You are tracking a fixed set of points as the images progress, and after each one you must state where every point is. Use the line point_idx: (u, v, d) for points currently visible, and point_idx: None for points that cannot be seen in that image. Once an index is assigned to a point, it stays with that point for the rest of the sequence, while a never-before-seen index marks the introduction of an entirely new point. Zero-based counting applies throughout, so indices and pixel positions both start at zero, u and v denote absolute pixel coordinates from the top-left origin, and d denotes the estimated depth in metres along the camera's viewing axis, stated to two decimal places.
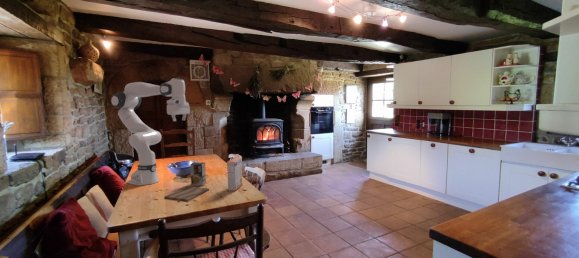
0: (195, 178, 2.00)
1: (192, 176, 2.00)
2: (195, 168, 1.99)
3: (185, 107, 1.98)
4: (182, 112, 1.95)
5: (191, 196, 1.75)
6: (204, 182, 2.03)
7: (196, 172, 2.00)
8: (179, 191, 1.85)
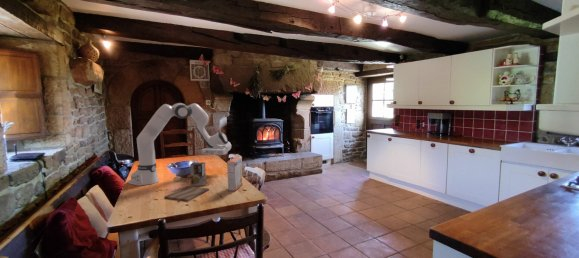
0: (195, 178, 2.00)
1: (192, 176, 2.00)
2: (195, 168, 1.99)
3: None
4: None
5: (191, 196, 1.75)
6: (204, 182, 2.03)
7: (196, 172, 2.00)
8: (179, 191, 1.85)
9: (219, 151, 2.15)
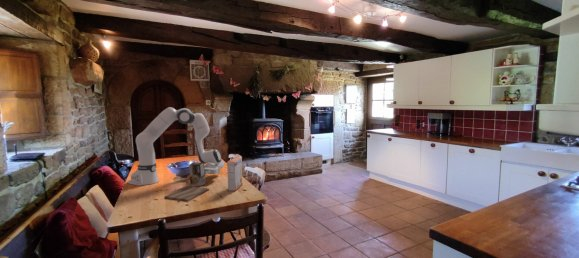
0: (194, 178, 2.00)
1: (191, 176, 2.00)
2: (194, 168, 1.98)
3: None
4: None
5: (191, 196, 1.75)
6: (203, 182, 2.02)
7: (195, 172, 1.99)
8: (179, 191, 1.85)
9: (211, 170, 2.07)
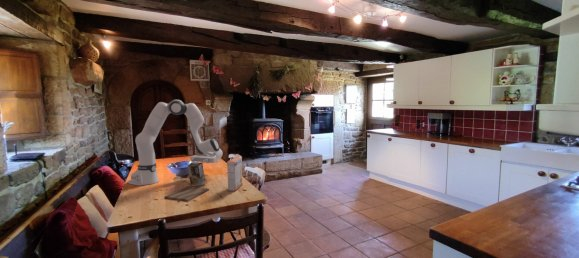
0: (193, 179, 1.99)
1: (190, 177, 1.99)
2: (192, 170, 1.96)
3: None
4: None
5: (191, 196, 1.75)
6: (203, 182, 2.02)
7: (194, 173, 1.97)
8: (179, 191, 1.85)
9: (209, 159, 2.04)
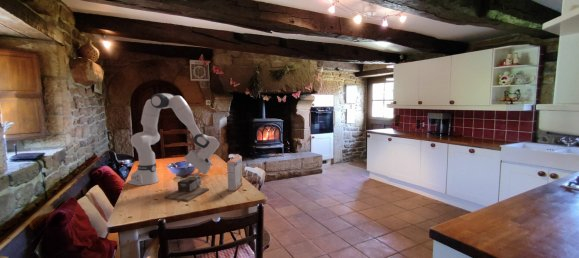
0: None
1: None
2: None
3: None
4: None
5: (191, 196, 1.75)
6: (200, 181, 1.98)
7: None
8: (179, 191, 1.85)
9: (201, 172, 1.94)
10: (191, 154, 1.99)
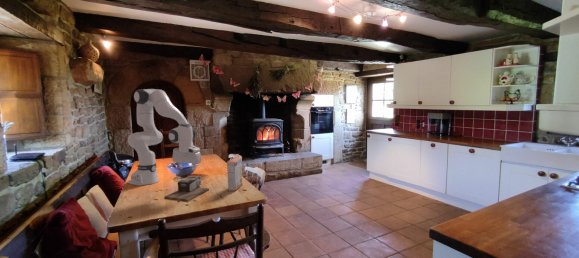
0: None
1: None
2: None
3: None
4: None
5: (191, 196, 1.75)
6: (200, 181, 1.98)
7: None
8: (179, 191, 1.85)
9: None
10: (175, 153, 1.81)
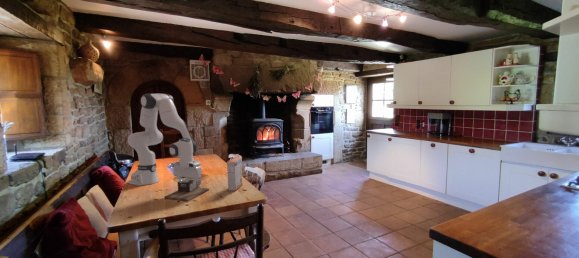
0: None
1: None
2: None
3: None
4: None
5: (191, 196, 1.75)
6: (200, 180, 1.97)
7: None
8: (179, 191, 1.85)
9: (195, 177, 1.79)
10: (176, 168, 1.82)
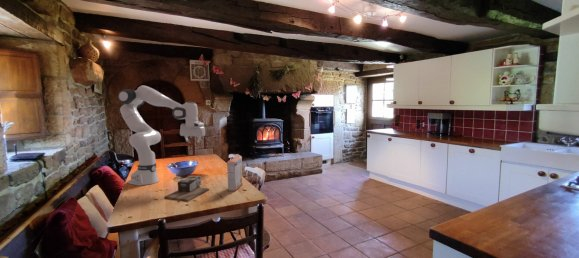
0: None
1: None
2: None
3: None
4: None
5: (191, 196, 1.75)
6: (200, 181, 1.98)
7: None
8: (179, 191, 1.85)
9: None
10: (182, 128, 2.05)
